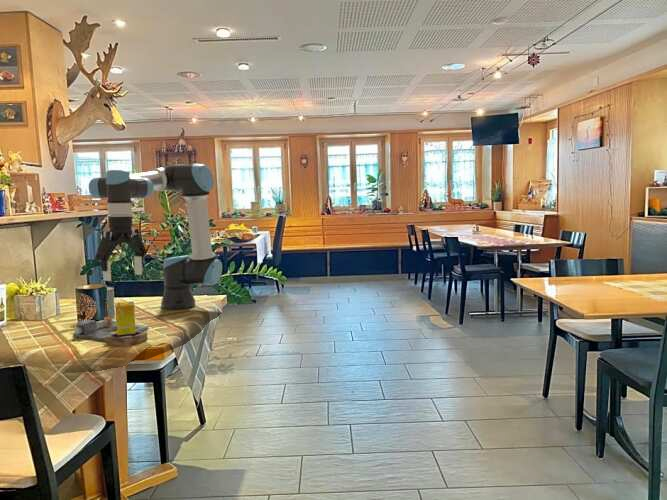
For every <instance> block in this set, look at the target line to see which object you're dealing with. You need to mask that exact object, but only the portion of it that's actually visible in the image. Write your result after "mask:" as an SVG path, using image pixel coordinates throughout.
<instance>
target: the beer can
mask: <svg viewBox="0 0 667 500" xmlns="http://www.w3.org/2000/svg"><path fill="white" fill-rule="evenodd" d="M106 287H107V296H108V297H107V305H108V315H109V317H111V318H112V319H115V318H116V308H115V292H114V289H115V288H114V287H112V286H106Z"/></svg>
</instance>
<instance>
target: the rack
mask: <svg viewBox="0 0 667 500" xmlns="http://www.w3.org/2000/svg"><path fill="white" fill-rule="evenodd" d="M113 333H114V332H113ZM147 340H148V332H146V331H142V332H140V331H136V335H134V336H125V337H117V332H115V333H114V334H111V335H108V336H105V342H104V343H105V345H110V344H111V345H110V346H116V345H118V346H117V347H122V346H124V347H123V348H128V347H130V345H131V346H133V345H136V344H139V343H142V342H145V341H147ZM127 346H128V347H127Z"/></svg>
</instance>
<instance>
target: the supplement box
mask: <svg viewBox="0 0 667 500" xmlns="http://www.w3.org/2000/svg"><path fill="white" fill-rule="evenodd" d="M114 308H115V320H116V323H117V330H116V333H117V337H125V336H134V335H136V331H135V325H136V316H135V313H136V312H135V303H134V301H123V302H121V301H120V302H115V303H114Z"/></svg>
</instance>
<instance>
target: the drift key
mask: <svg viewBox="0 0 667 500" xmlns="http://www.w3.org/2000/svg"><path fill="white" fill-rule="evenodd" d="M112 319H113V318H111V317H104V320H99V321H96V325H97V328H101V327H104V326H111V325H112V322H113V320H112ZM83 332H84V330H83V326H79V327H77V326H75V327H74V333H77V334H80V333H83Z"/></svg>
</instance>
